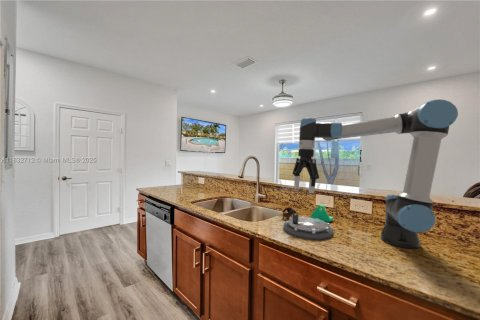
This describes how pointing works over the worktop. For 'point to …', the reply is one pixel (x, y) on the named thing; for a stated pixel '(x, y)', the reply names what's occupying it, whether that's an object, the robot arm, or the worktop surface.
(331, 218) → the camera mount
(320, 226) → the index wheel
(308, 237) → the base
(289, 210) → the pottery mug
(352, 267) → the worktop surface
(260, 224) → the worktop surface
